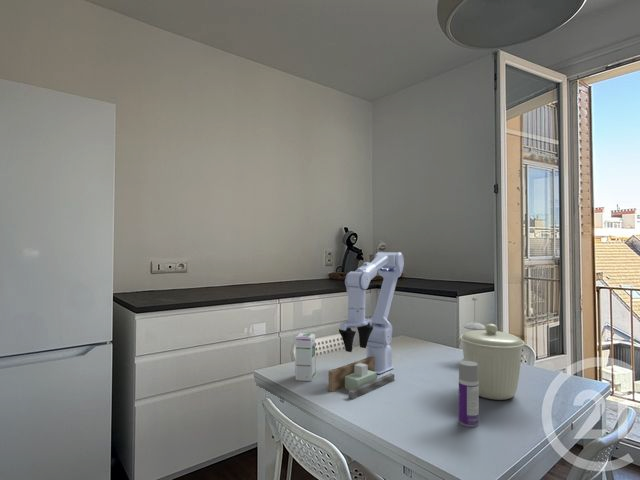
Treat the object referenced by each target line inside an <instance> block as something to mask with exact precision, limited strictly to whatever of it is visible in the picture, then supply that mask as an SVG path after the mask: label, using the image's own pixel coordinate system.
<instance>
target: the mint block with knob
mask: <svg viewBox="0 0 640 480" xmlns="http://www.w3.org/2000/svg"><path fill="white" fill-rule="evenodd" d="M377 377H378V376H377V372H373V371H370V370H368V365H366V364H363V363H358V364H356V365H354V373H352V374H350V375H347V376H345V387H344V389H345V390H348V391H350V390H353V389H355V388H357V387H360V386H362V385H364V384H367V383H369V382H371V381H374V380H376V379H378V378H377Z"/></svg>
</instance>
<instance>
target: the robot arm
mask: <svg viewBox="0 0 640 480" xmlns="http://www.w3.org/2000/svg"><path fill="white" fill-rule="evenodd" d="M404 265H405V260H404V255H403V253H402V252H400V251H398V252H393V251H392V252H389V251H387V252H384V251H383V252H382V251H378V252H377V253H375V254H374V259H373V260H372V261H371V262H367V261H365V262H363V264H362V265H361V266H360V267H358V268H357V269H355V271H349V272H347V274H346V275H345V279H344V285H345V288H346V294H347V320H346V321H344V322H342V323H339V328H338V332H339V333H338V334H340V336H341V339H342V341H343V345H344V349H345V352H349V353H352V351H353V349H354V348H353V345H354V338H355V335H356V333H357V332H358V338H359V339H358V340H359V347H360V348H363V349H366V353H365V354H366V358H368V357H375V372H377V374H378V375H381V374H383V373H386V372H389V371H391V370H393V369H395V367H394V366H393V350H392V347H391V345H390V343H391V342H392V338H393V324H391V322H390V321H389V320H388V318H389V317H388V316H389V314H390V309H391V305H392V302H393V301H392V300H393V299H394V298H393V297H394V293H395V290H396V286H397V282H398V278H400V277H401V276H402V273H403V269H404ZM377 274H378V275H379V276H380V277H382V278H383V280H382V283H381V287H380V291H379V295H378V298H377V302H376V306H375V309H374V313H373V316H371V317H370V318H366V290H367V289H368V288H369V286H370V283H371V280H373V279H374V278H375V277H376V276H377ZM354 328H355V329H356V328H357V331H355V330H352V329H354Z"/></svg>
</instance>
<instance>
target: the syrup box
mask: <svg viewBox="0 0 640 480" xmlns="http://www.w3.org/2000/svg"><path fill="white" fill-rule="evenodd" d="M294 345H295V347H294V355H295V358H294V359H295V360H294V362H295V363H294V364H295V373H294V374H295V380H296V381H302V382H303V381H304V382H313V380H314V379H315V377H316V334H315V333H311V332H300V333H298V334H297V335H296V336H295V337H294Z"/></svg>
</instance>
